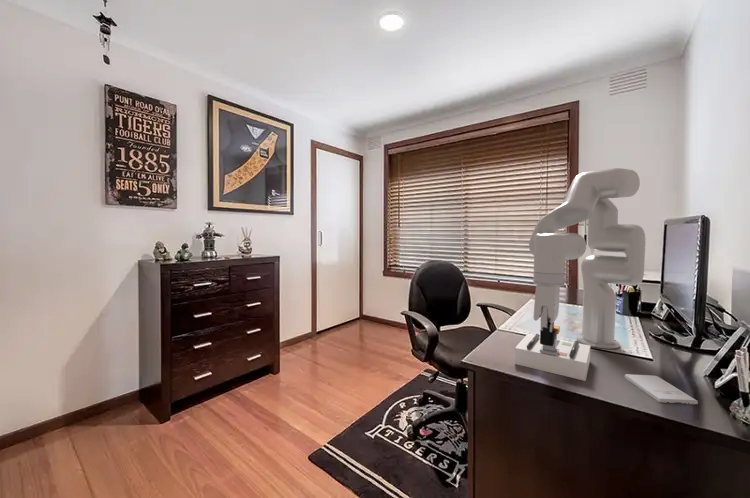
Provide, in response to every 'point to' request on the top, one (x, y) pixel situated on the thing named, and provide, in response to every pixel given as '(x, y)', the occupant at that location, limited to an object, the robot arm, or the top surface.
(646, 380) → the external hard drive
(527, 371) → the top surface
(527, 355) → the switch box
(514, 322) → the top surface
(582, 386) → the top surface
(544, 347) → the switch handle
